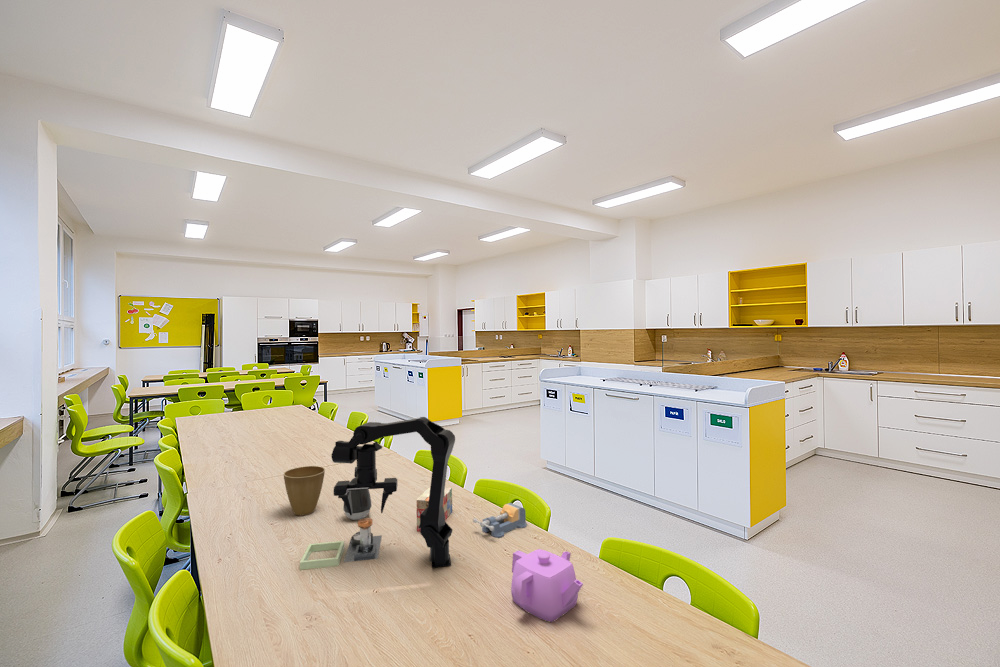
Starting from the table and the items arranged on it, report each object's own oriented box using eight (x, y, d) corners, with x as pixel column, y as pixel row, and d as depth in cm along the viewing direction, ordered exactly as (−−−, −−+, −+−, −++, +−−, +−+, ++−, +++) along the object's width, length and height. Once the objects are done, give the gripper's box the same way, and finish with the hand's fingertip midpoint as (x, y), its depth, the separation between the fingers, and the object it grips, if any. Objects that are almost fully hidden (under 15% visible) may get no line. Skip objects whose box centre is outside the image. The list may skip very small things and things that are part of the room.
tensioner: (377, 561, 135) (377, 547, 135) (343, 565, 133) (343, 550, 133) (381, 538, 151) (381, 525, 151) (351, 541, 149) (351, 528, 149)
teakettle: (510, 584, 122) (509, 539, 122) (572, 583, 122) (571, 538, 122) (512, 625, 105) (512, 573, 105) (584, 623, 105) (583, 571, 105)
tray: (338, 569, 131) (338, 558, 131) (300, 573, 130) (299, 562, 130) (344, 550, 143) (344, 540, 143) (309, 553, 141) (309, 544, 141)
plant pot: (290, 523, 164) (289, 479, 164) (279, 511, 176) (279, 470, 176) (330, 512, 174) (330, 471, 174) (318, 501, 185) (318, 463, 185)
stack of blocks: (437, 510, 175) (437, 479, 175) (452, 511, 173) (452, 479, 173) (416, 534, 154) (416, 499, 154) (433, 536, 152) (433, 500, 152)
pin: (372, 556, 137) (371, 523, 137) (357, 557, 136) (356, 524, 136) (373, 549, 141) (373, 517, 141) (359, 551, 140) (358, 518, 140)
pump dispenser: (337, 520, 167) (336, 479, 167) (357, 510, 176) (357, 471, 176) (357, 525, 162) (356, 483, 162) (377, 514, 171) (376, 475, 171)
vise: (509, 517, 167) (509, 500, 167) (529, 526, 159) (529, 507, 159) (472, 532, 155) (471, 513, 155) (491, 542, 147) (491, 522, 147)
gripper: (398, 455, 149) (398, 502, 149) (339, 458, 146) (340, 506, 146) (396, 465, 138) (396, 515, 138) (332, 468, 135) (333, 520, 135)
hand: (366, 513), depth 139 cm, fingers open, 9 cm apart
